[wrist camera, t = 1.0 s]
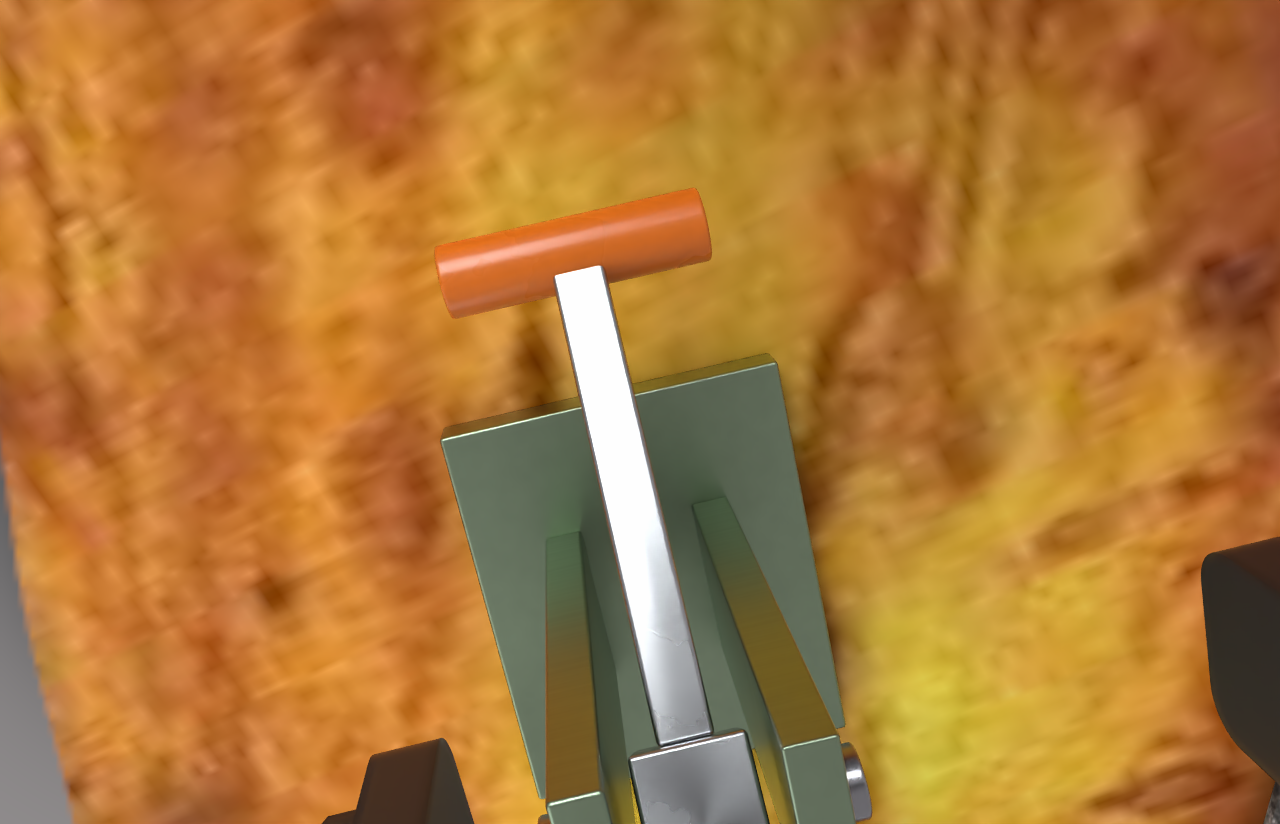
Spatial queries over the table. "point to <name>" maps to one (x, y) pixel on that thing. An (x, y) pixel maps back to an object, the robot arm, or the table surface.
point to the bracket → (709, 579)
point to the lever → (625, 473)
